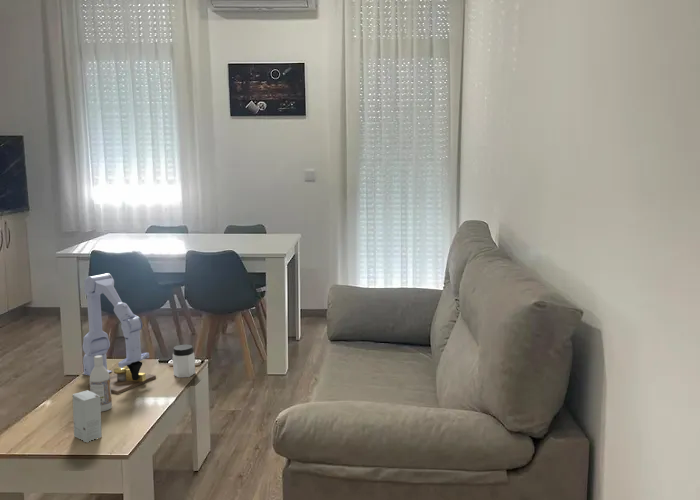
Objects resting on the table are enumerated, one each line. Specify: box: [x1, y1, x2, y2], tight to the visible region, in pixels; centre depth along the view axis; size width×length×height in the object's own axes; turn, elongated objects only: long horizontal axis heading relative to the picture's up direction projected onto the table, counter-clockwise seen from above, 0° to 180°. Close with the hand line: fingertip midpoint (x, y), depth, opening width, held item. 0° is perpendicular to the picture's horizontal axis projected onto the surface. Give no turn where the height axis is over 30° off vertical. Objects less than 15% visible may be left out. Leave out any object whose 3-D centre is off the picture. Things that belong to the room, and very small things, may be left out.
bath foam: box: [89, 355, 113, 413], centre depth 241 cm, size 7×7×20 cm
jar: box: [172, 343, 196, 379], centre depth 277 cm, size 9×8×12 cm
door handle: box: [113, 366, 147, 382], centre depth 268 cm, size 13×6×5 cm, turn 76°
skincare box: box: [72, 389, 103, 443], centre depth 217 cm, size 8×6×15 cm
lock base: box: [87, 371, 157, 395], centre depth 269 cm, size 17×20×4 cm
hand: (135, 379), depth 265 cm, fingers closed, pressing on door handle
